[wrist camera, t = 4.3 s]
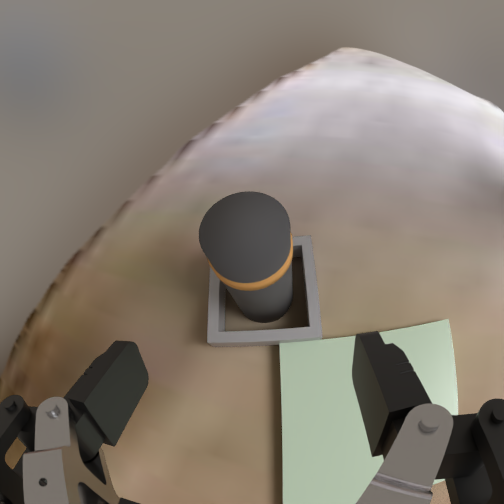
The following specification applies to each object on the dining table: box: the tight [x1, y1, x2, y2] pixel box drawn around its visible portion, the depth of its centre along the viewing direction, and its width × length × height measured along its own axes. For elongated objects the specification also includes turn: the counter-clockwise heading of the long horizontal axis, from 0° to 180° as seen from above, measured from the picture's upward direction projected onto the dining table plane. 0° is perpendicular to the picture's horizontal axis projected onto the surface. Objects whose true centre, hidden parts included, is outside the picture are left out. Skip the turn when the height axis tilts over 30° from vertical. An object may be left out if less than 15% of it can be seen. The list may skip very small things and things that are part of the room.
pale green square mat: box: [279, 319, 458, 504], centre depth 15 cm, size 14×14×1 cm
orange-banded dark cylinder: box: [199, 192, 293, 323], centre depth 17 cm, size 5×5×10 cm
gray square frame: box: [207, 235, 322, 347], centre depth 21 cm, size 8×8×2 cm
